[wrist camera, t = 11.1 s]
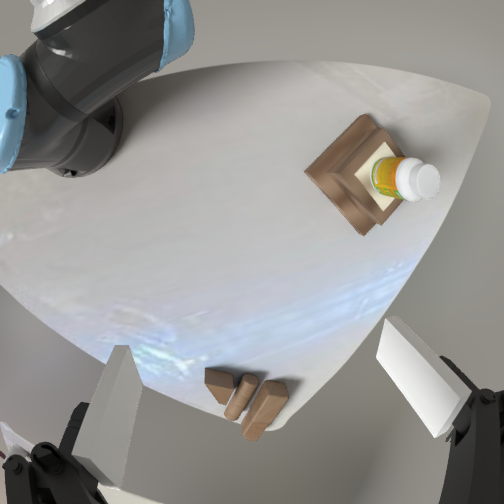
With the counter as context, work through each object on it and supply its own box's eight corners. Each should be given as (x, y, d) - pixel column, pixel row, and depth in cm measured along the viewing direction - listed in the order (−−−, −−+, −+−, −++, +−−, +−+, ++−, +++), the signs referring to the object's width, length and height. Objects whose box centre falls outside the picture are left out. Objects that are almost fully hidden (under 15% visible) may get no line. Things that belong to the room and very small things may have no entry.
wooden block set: (293, 398, 47) (258, 445, 51) (287, 379, 52) (255, 428, 56) (206, 382, 43) (184, 434, 47) (206, 362, 49) (185, 416, 53)
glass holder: (15, 442, 55) (4, 466, 41) (39, 463, 60) (30, 486, 45) (8, 442, 56) (-2, 464, 41) (31, 462, 60) (23, 484, 46)
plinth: (303, 171, 40) (320, 172, 33) (359, 115, 38) (383, 108, 31) (358, 233, 44) (380, 245, 37) (407, 178, 42) (433, 181, 35)
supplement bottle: (366, 191, 34) (409, 201, 25) (371, 153, 33) (415, 151, 24) (396, 198, 35) (440, 209, 26) (401, 162, 34) (447, 164, 25)
